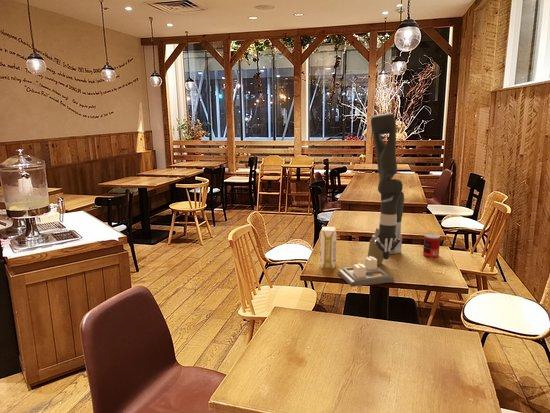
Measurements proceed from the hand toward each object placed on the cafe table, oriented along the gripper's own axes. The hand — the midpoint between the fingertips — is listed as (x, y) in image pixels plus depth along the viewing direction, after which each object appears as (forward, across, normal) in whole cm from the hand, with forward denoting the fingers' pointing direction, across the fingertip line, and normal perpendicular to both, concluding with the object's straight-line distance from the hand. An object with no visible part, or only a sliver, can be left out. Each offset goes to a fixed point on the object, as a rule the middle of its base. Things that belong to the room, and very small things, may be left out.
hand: (385, 258), depth 193 cm
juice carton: (+7, +23, -14) cm, 28 cm away
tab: (+4, +16, +7) cm, 18 cm away
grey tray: (+7, +12, +4) cm, 14 cm away
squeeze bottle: (+7, -1, -12) cm, 13 cm away
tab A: (+4, +7, 0) cm, 8 cm away
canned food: (+6, -34, -15) cm, 38 cm away
